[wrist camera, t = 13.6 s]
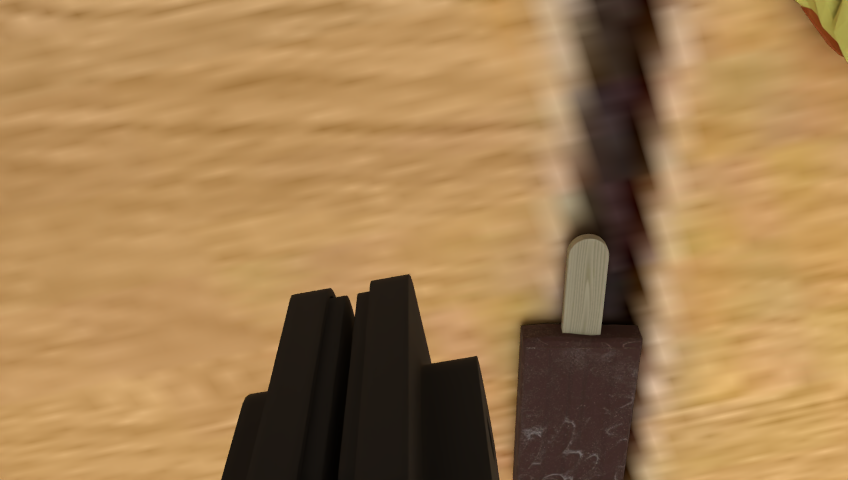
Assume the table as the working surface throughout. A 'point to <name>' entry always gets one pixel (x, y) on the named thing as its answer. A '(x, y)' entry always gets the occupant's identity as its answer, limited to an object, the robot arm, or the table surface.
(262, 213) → the table surface
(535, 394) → the ice cream bar
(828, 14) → the cheeseburger
